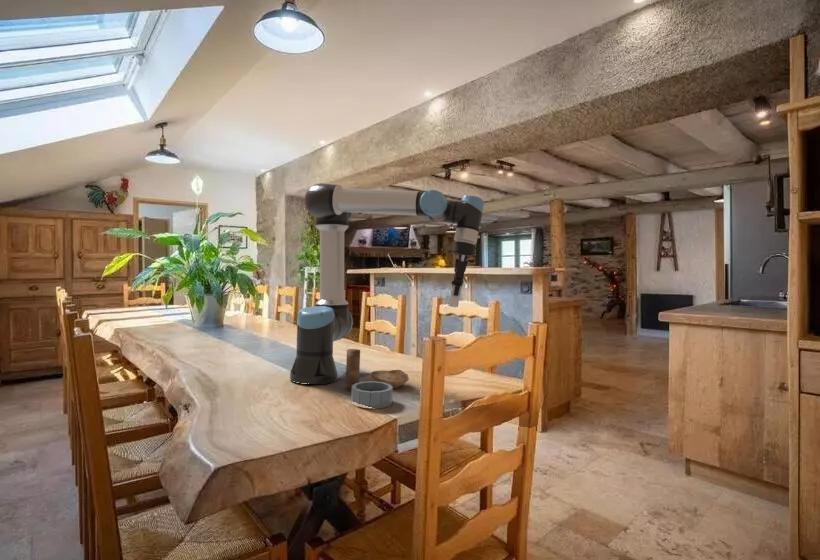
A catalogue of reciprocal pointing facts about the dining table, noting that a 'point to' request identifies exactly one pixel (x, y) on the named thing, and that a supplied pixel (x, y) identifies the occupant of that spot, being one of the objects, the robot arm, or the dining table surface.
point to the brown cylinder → (352, 368)
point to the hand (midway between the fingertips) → (452, 306)
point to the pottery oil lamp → (390, 377)
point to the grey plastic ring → (372, 394)
